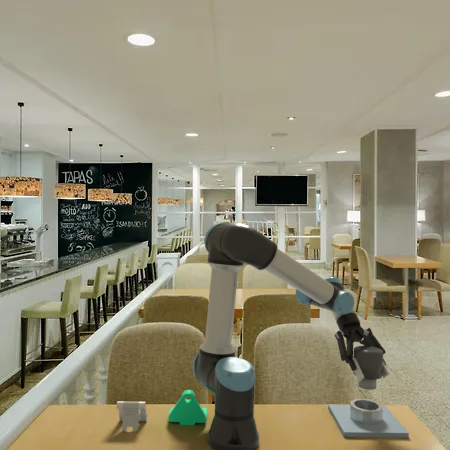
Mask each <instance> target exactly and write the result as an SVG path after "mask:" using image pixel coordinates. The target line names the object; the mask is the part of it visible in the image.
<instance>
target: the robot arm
mask: <svg viewBox="0 0 450 450" xmlns="http://www.w3.org/2000/svg"><path fill="white" fill-rule="evenodd" d="M203 243H204V247H205V249H206V251H207V253H208V254H207V264H208V265H209V267H210V268H211V273H210V282H209V283H210V285H209V297H208V304H207V306H208V307H207V315H206V316H207V317H206V327H205V339H204V342H203V343H202V344H200V345H199V350H198V351H199V352H197V354H196V355H195V356H194V359H193V361H192V372H193V373H192V374H193V375H194V377H195V379H196V380H197V382H198V383H199V384H200V385H201V386H202V387H203V388H205V389H206V390H207V391H208V392H210V393H211V395H213V396H214V415H213V417H212V421H211V424H210V428H209V430H208V433H207V436H208V437H207V442H208V445H209V446H210V447H211V448H212V449H214V450H255V449H256V448H258V446H259V443H260V433H259V430H258V429H257V424H256V420H255V414H254V413H255V411H254V410H255V387H256V385H255V384H256V374H255V369H254V368H255V367H254V365H252V363H251V362H249V361H248V360H246V359H245V358H244V359H243V358H240V357H236V348H235V347H234V346H233V344H232V339H233V330H234V329H233V327H234V320H235V309H236V308H235V307H236V295H237V285H238V275H239V271H240V270H241V269H242V268H243V267H244V264H247V265H248V266H250V267H253V268H255V269H257V270H258V271H264V270H265V271H267V273H270V274H271V275H272V276H274V277H277V278H278V279H279V280H281V281H282V282H284V283H286V284H287V285H289V286H291V287H292V288H294V289H295V299H296V300H297V302H298V303H299V304H300V305H306V306H308V305H312V306H315V307H317V308H321V309H324V310H327V311H330V312H331V313H332V316H333V318H334V320H335V321H336V323H335V324H336V325H337V327H338V329H339V330H337V332H336V333H335V334H334V337H335V340H336V341H337V346H338V350H339V355H340V360H341V361H342V362H345V363H346V364H348V365H349V367H350V369H351V371H352V372H353V371H354V372H355V375H356V379H357V381H358V382H359V381H361V380H362V379H363V378H364V375H363V373H362V371H361V369H360V366H359V364H358V362H357V360H356V358H355V359H354V343H359V344H360V345H362V346H371V347H376V348H379V349H381V350H382V351H383V356H384V355H385V354H386V350H385V348H384V347H383V346H382V345H381V343H380V342H379V341H378V339H377V337H376V336H375V335H374V333H373V331H372V329H371V328H370V327H368V328H367V329H364V328H363V327H362V326H361V321H360V319H359V316H358V315H357V313H356V310H355V309H354V307H355V298H354V295H353V294H352V293H350V292H348V291H347V290H345V288H344V286H343V285H344V284H342V282H341V280H340V279H339V278H338V277H336V276H335V277H334V276H331V277H326V278H325V279H324V278H322V276H320V275H318V274H317V273H316V272H315V271H312V270H311V269H310V268H308V267H306V265H305V266H304V265H303V264H302V263H300V262H299V261H297V260H296V259H294V258H292V256H290V255H288V254H286V253H285V252H283V251H282V250H280V249H279V248H278V247H279V246H278V244H277V243H276V242H275V241H273V240H271V239H270V238H268V237H267V236H266V235H264V234H263V233H261V232H260V231H258V230H257V229H255V228H254V227H252V226H250V225H248V224H246V223H236V222H229V221H228V222H227V221H226V222H225V221H223V222H218V223H215V224H213V225H212V226H210V228H209V229H207V231H206V232H205V235H204V241H203ZM344 338H345V339H346V341H345V339H344ZM355 375H354V376H355ZM389 375H390V372H389V370H388V368H387V362H386V361H385V359H384V358H383V374H382V378H383V379H384V378H387V377H388V376H389Z"/></svg>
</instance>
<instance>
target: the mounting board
mask: <svg viewBox="0 0 450 450" xmlns="http://www.w3.org/2000/svg"><path fill="white" fill-rule="evenodd" d="M381 405H382V404H381ZM382 407H383V416H382V422H381V423H380V424H377V425H365V424H361V423H358V422H355V421H354V420H353V419H351V418H350V404H332V403H331V404H328V405H327V409H328V411H329V413H330V414H331V416H332V419H333V420H334V423H336V425H337V428H338V429H339V430H340V432H341V434H342V436H343V437H344V438H381V439H383V438H385V439H386V438H387V439H388V438H392V439H395V438H396V439H397V438H398V439H399V438H400V439H404V438H405V439H408V438H410V437H409V436H410V435H409V434H410V432H408V430H407V429H406V428H405V426H403V424H402V423H401V422H400V421H399V420H398V419H397V417H396V416H395V415H394V414H393V413H392V412H391V410H390V409H389V408H388V407H387V406H386V405H384V404H383V405H382Z"/></svg>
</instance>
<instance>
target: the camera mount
mask: <svg viewBox="0 0 450 450" xmlns="http://www.w3.org/2000/svg"><path fill="white" fill-rule="evenodd" d="M187 398H189V399H187ZM207 417H208V408H207V407H202V406H201V405H200V403H199V402H198V400H197V398H196V393H195V392H194V391H193V390H191V389H185V390H184V391H183V392H182V394H181V396H180V397H179V399H178V401H177V402H176V404H175V405H174V406H172V407H171V408H170V411H169V414H168V417H167V419H168V423H171V422H172V423H179V425H180V426H195V425H196V423H199V424H200V423H201V424H204V423H205V424H206V423H207Z"/></svg>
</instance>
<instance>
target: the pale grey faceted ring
mask: <svg viewBox="0 0 450 450" xmlns="http://www.w3.org/2000/svg"><path fill="white" fill-rule="evenodd" d="M349 405H350V418H351V419H353V420H354V421H355V422H358V423H361V424H365V425H377V424H380V423H381V422H382V416H383V407H382V404H381V403H380V402H378V401H375V400H372V399H369V398H354V399H352V400H351V401H350V404H349Z"/></svg>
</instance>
